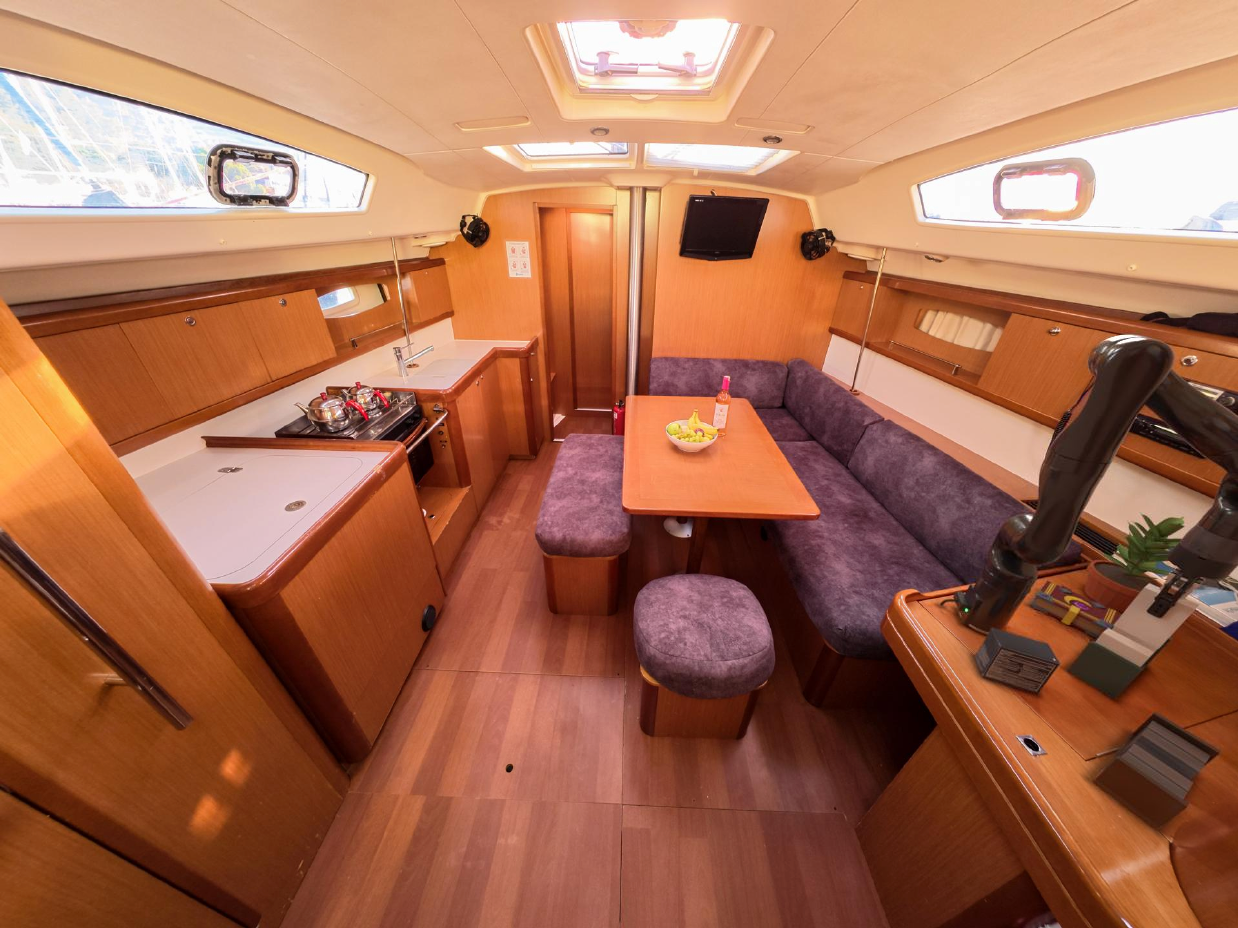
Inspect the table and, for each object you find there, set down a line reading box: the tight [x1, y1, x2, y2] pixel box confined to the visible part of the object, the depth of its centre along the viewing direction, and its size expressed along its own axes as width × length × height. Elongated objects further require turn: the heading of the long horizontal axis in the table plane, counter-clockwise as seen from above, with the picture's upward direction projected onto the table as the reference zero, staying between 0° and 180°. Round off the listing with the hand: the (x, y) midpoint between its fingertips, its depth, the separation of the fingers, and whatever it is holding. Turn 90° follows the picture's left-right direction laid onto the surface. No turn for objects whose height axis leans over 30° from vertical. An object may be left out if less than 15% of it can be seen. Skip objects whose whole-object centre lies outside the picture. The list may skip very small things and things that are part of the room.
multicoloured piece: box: [1066, 615, 1173, 700], centre depth 94 cm, size 20×8×13 cm, turn 116°
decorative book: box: [1029, 580, 1122, 640], centre depth 110 cm, size 11×16×5 cm
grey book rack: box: [1092, 711, 1222, 831], centre depth 74 cm, size 20×8×8 cm, turn 116°
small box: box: [973, 628, 1061, 696], centre depth 92 cm, size 11×6×10 cm, turn 65°
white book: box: [1113, 583, 1200, 649], centre depth 88 cm, size 3×7×12 cm, turn 26°
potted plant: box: [1084, 513, 1185, 613], centre depth 111 cm, size 15×15×30 cm
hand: (1156, 611), depth 88 cm, fingers closed on white book, 3 cm apart
